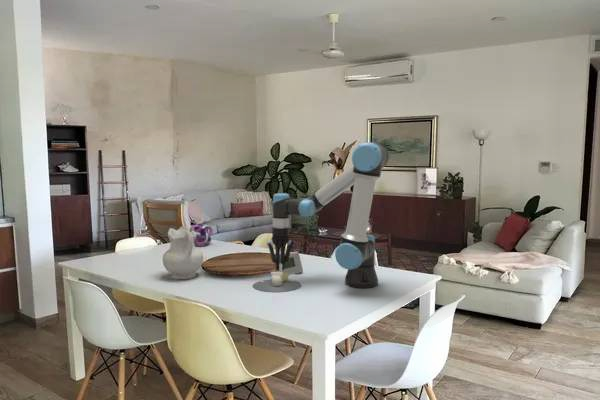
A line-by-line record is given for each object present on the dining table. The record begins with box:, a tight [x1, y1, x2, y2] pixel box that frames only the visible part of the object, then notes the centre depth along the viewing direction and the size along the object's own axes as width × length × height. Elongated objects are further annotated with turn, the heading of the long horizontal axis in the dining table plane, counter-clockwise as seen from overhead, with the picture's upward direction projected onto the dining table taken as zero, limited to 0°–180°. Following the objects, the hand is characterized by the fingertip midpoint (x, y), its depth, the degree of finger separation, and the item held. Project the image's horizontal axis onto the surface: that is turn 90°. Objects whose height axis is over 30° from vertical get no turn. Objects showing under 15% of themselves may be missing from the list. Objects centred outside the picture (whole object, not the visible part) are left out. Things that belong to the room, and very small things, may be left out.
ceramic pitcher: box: [162, 225, 204, 280], centre depth 225 cm, size 22×20×25 cm
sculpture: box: [189, 223, 214, 248], centre depth 307 cm, size 16×17×20 cm
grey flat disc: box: [252, 278, 302, 294], centre depth 208 cm, size 22×22×1 cm
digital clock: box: [274, 251, 304, 276], centre depth 230 cm, size 16×9×11 cm, turn 123°
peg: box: [270, 271, 289, 286], centre depth 212 cm, size 13×5×6 cm, turn 158°
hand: (279, 277), depth 215 cm, fingers closed
